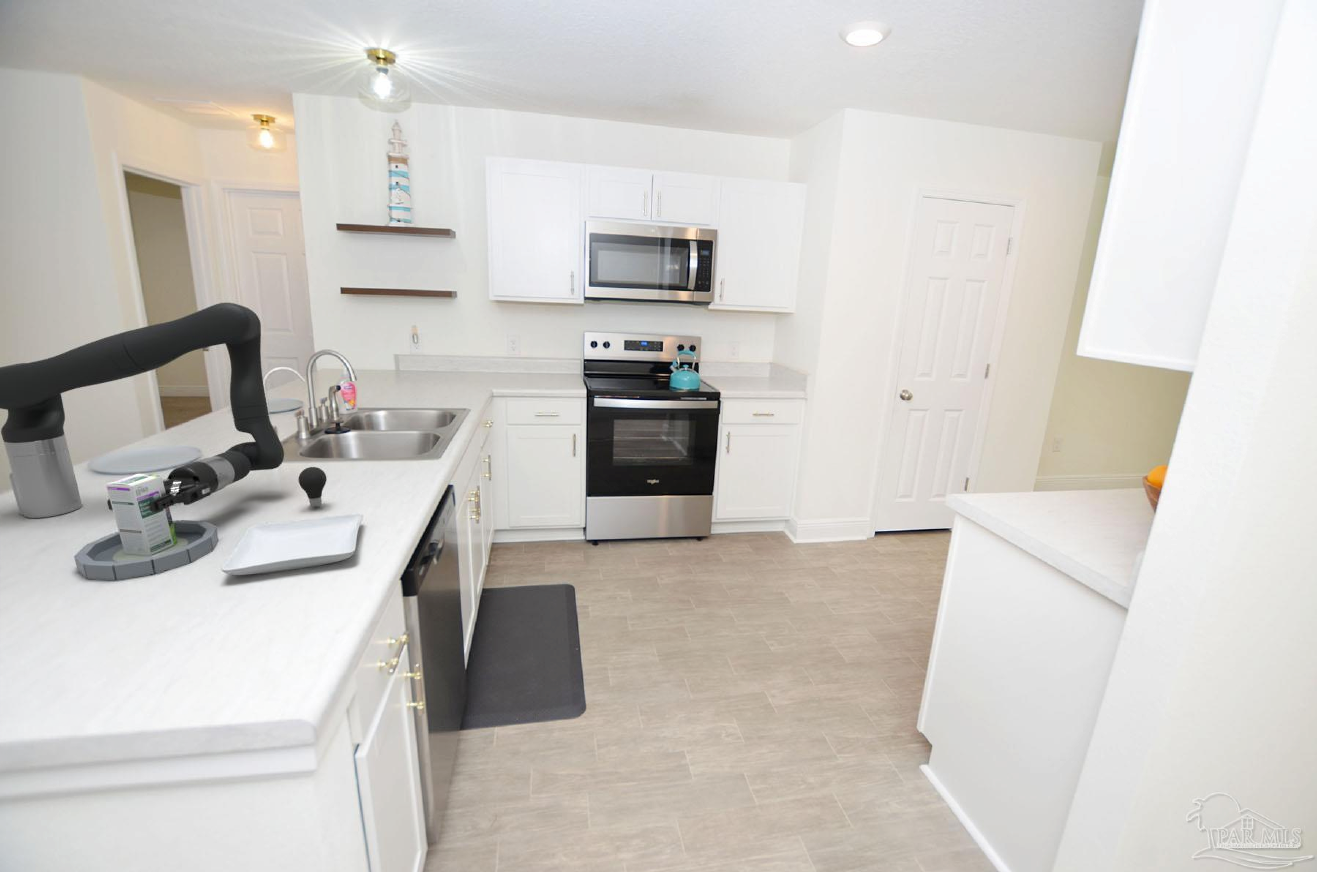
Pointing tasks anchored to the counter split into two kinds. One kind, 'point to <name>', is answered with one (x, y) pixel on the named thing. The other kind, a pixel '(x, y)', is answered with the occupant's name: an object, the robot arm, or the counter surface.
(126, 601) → the counter surface
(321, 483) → the light bulb
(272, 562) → the salad plate
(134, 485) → the syrup box
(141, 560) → the round tray
